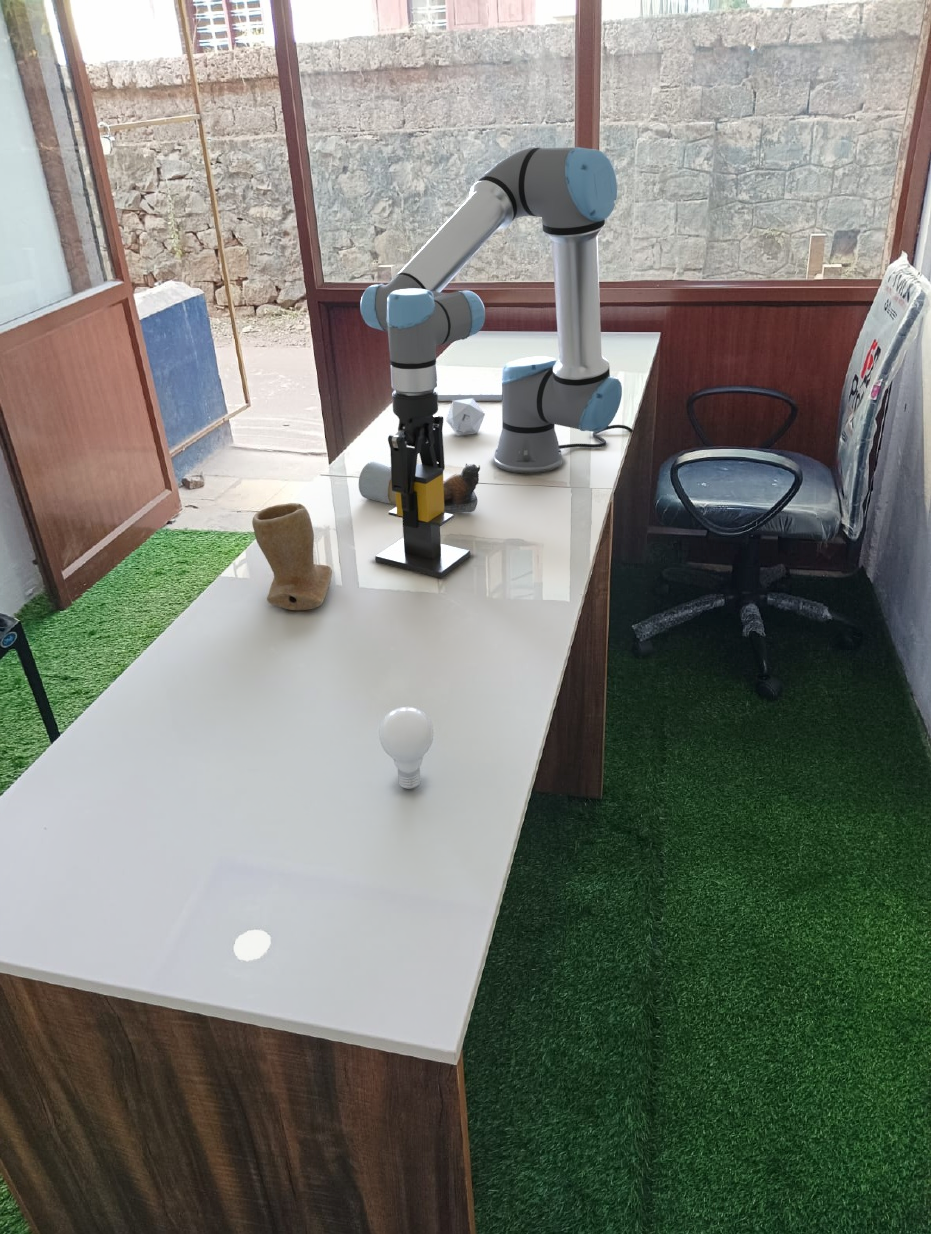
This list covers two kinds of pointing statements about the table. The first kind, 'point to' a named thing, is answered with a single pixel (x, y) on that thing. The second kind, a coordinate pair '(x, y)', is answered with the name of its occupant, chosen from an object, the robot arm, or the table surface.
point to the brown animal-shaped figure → (461, 490)
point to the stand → (423, 549)
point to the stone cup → (291, 557)
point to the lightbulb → (406, 742)
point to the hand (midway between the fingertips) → (421, 519)
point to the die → (465, 417)
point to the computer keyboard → (469, 390)
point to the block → (426, 492)
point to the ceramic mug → (377, 483)
